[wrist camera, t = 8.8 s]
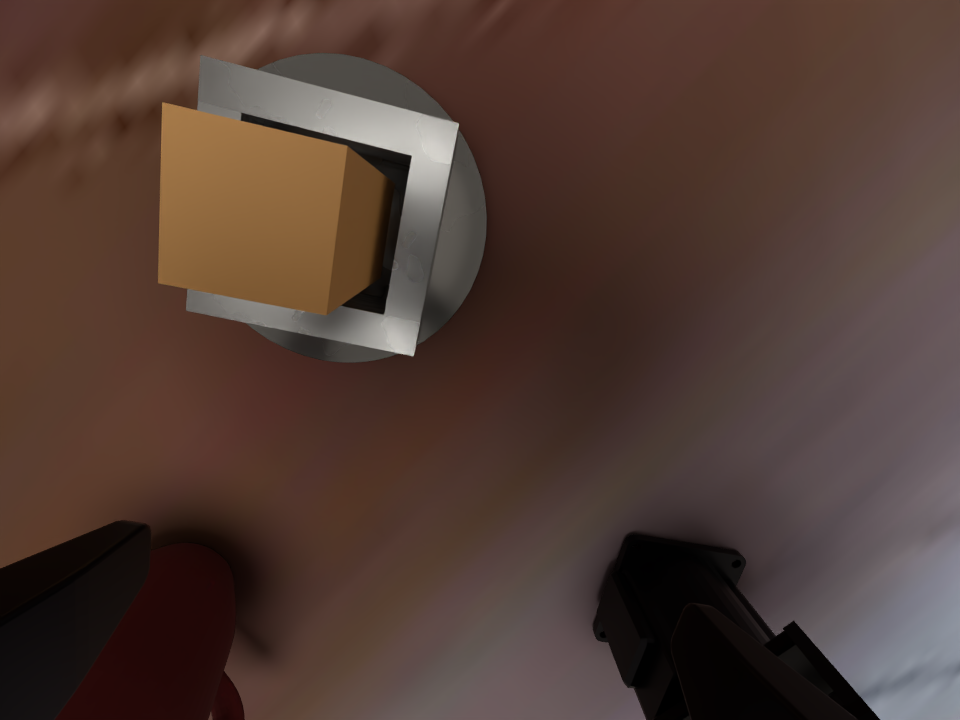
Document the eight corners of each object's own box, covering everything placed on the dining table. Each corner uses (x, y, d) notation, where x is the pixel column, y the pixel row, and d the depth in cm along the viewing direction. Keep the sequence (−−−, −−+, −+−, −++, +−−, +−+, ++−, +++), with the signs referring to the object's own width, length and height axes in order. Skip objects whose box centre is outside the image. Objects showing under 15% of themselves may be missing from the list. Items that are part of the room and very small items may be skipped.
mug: (343, 616, 24) (269, 883, 14) (227, 693, 24) (83, 992, 15) (190, 473, 21) (-34, 683, 11) (66, 565, 22) (-238, 832, 12)
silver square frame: (513, 109, 17) (531, 73, 13) (453, 376, 20) (453, 413, 16) (213, 27, 16) (134, -40, 12) (194, 325, 19) (125, 352, 15)
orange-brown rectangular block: (395, 183, 17) (347, 145, 9) (380, 277, 18) (326, 315, 10) (298, 161, 16) (162, 102, 9) (288, 258, 17) (158, 283, 10)
